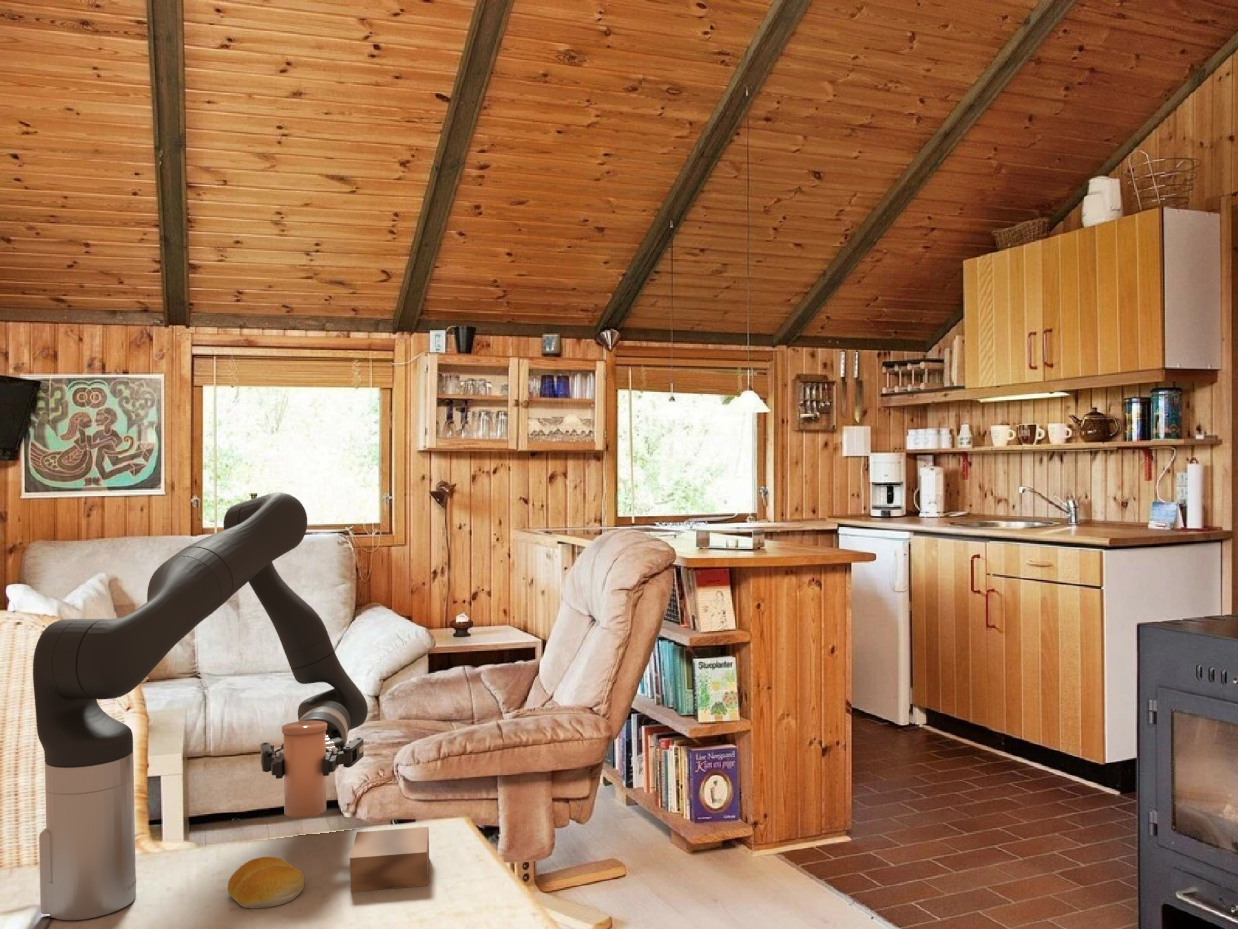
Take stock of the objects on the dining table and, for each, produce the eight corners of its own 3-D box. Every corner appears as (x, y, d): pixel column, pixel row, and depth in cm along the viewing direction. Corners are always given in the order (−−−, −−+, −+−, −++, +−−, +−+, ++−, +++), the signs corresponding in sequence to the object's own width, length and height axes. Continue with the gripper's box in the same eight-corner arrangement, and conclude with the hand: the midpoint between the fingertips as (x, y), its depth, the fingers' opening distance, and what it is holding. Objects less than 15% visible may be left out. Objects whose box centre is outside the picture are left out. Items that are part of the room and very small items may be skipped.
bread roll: (248, 918, 118) (247, 882, 118) (219, 894, 124) (218, 861, 124) (317, 897, 123) (317, 863, 123) (286, 875, 130) (285, 843, 130)
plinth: (350, 892, 124) (349, 858, 124) (357, 863, 133) (356, 832, 133) (427, 885, 125) (426, 852, 125) (429, 858, 134) (428, 827, 134)
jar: (279, 819, 131) (278, 731, 132) (286, 805, 137) (285, 721, 137) (325, 816, 132) (324, 729, 132) (330, 803, 138) (329, 719, 138)
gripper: (266, 713, 148) (242, 742, 131) (370, 708, 150) (360, 736, 133) (267, 766, 148) (243, 803, 131) (371, 761, 150) (360, 795, 133)
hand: (302, 769), depth 132 cm, fingers closed on jar, 5 cm apart
